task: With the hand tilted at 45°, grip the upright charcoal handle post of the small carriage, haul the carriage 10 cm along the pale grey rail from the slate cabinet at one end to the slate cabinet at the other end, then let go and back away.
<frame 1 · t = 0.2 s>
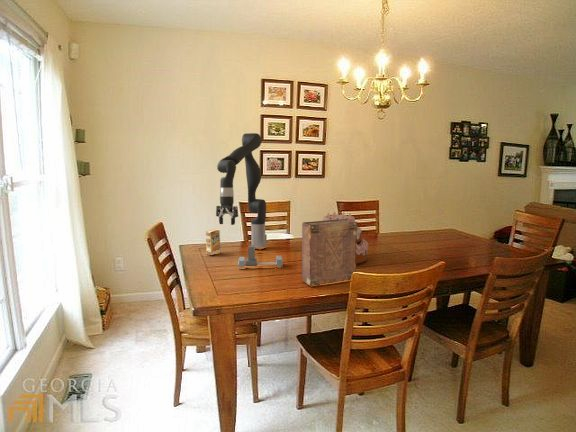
hand: (226, 224, 209), 23 cm above the table, tool pointing down, fingers open, 8 cm apart
carriage: (251, 255, 205), point 7 cm above the table, slide at -5.0 cm
candy box: (213, 254, 233), on the table
book: (328, 281, 183), on the table
rail: (260, 266, 207), on the table
cake: (338, 258, 223), on the table
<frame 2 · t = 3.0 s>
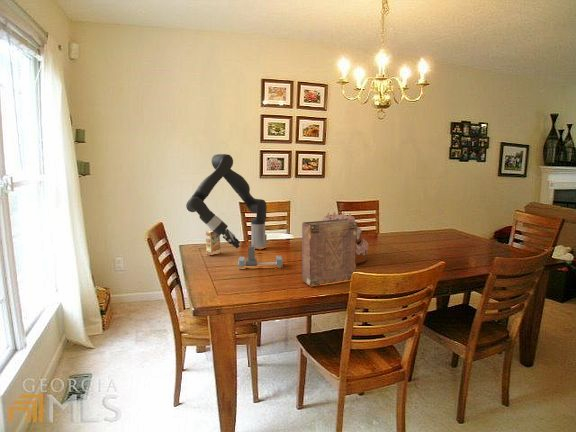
hand: (238, 245, 203), 13 cm above the table, tool tilted 45°, fingers open, 8 cm apart
nothing on the table moved.
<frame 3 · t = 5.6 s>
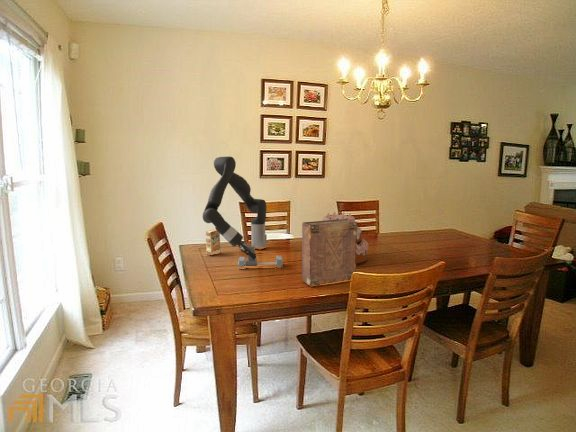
hand: (255, 257, 205), 6 cm above the table, tool tilted 45°, fingers closed on carriage, 3 cm apart
carriage: (251, 255, 205), point 7 cm above the table, slide at -5.0 cm, touching gripper
everything else where it was.
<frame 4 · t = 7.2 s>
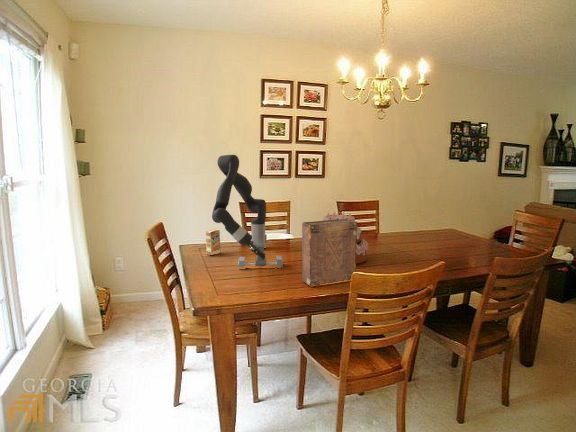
hand: (264, 256, 206), 6 cm above the table, tool tilted 45°, fingers closed on carriage, 3 cm apart
carriage: (260, 255, 205), point 7 cm above the table, slide at 0.1 cm, touching gripper
everything else where it was.
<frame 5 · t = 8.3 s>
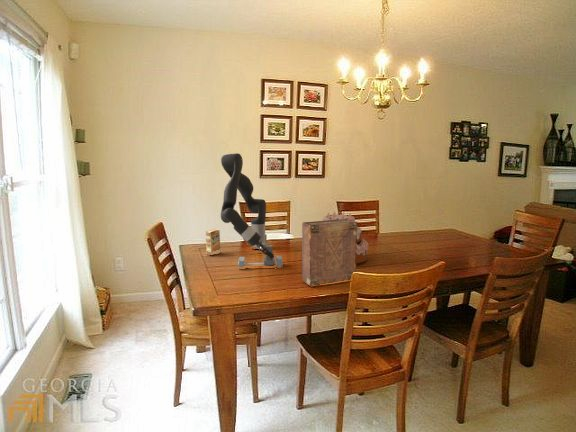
hand: (272, 256, 206), 6 cm above the table, tool tilted 45°, fingers closed on carriage, 3 cm apart
carriage: (269, 255, 206), point 7 cm above the table, slide at 4.8 cm, touching gripper
everything else where it was.
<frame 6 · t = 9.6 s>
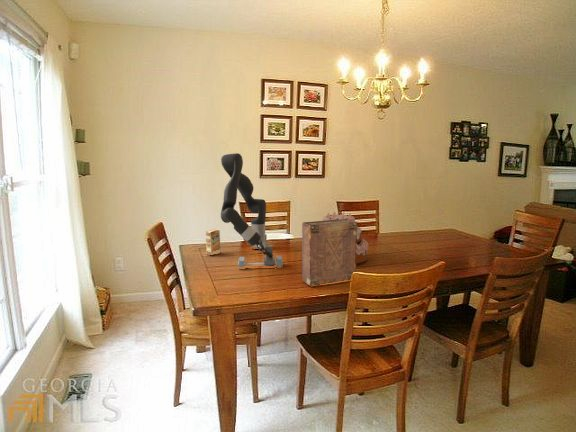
hand: (271, 255, 206), 7 cm above the table, tool tilted 45°, fingers open, 8 cm apart
carriage: (269, 255, 206), point 7 cm above the table, slide at 4.9 cm
everything else where it was.
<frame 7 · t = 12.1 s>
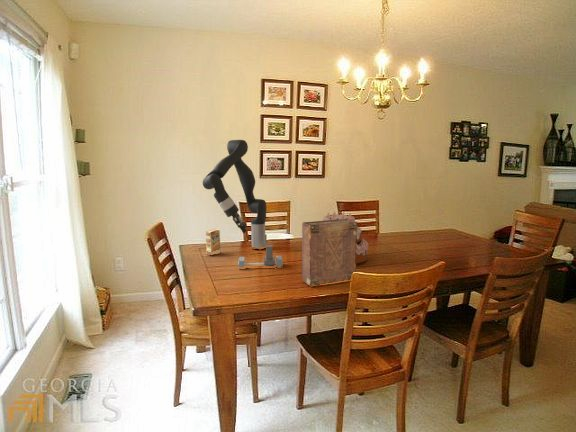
hand: (245, 230, 208), 20 cm above the table, tool tilted 30°, fingers open, 8 cm apart
nothing on the table moved.
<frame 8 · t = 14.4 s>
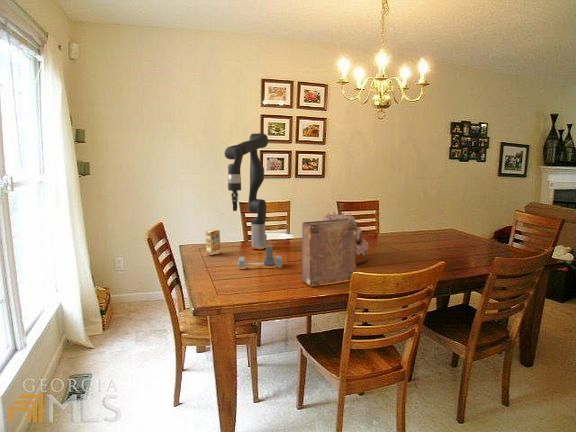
hand: (235, 209, 216), 30 cm above the table, tool pointing down, fingers open, 8 cm apart
nothing on the table moved.
at the end: carriage slide at 4.9 cm; the gripper is holding nothing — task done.
